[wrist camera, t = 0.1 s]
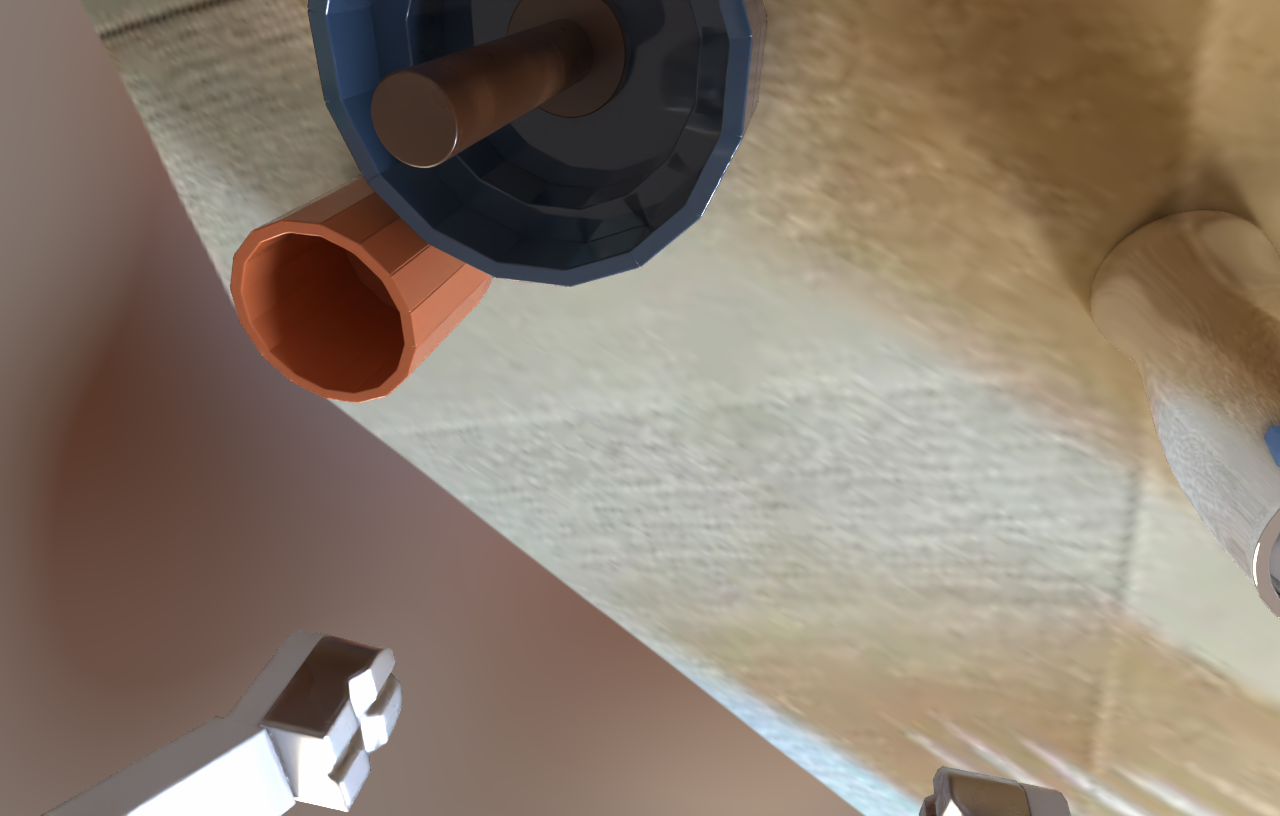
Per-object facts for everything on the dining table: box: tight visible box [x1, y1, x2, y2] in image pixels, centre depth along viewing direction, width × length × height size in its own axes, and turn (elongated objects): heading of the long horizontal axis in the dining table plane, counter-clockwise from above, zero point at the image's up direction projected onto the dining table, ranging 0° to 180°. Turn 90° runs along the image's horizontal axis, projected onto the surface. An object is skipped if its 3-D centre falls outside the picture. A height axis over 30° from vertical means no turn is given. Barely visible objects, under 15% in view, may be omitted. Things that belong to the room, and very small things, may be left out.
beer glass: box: [1090, 210, 1280, 619], centre depth 23 cm, size 7×7×15 cm
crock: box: [230, 175, 492, 403], centre depth 32 cm, size 8×8×8 cm
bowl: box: [308, 0, 767, 287], centre depth 26 cm, size 14×14×6 cm
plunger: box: [371, 0, 631, 168], centre depth 23 cm, size 5×5×13 cm
